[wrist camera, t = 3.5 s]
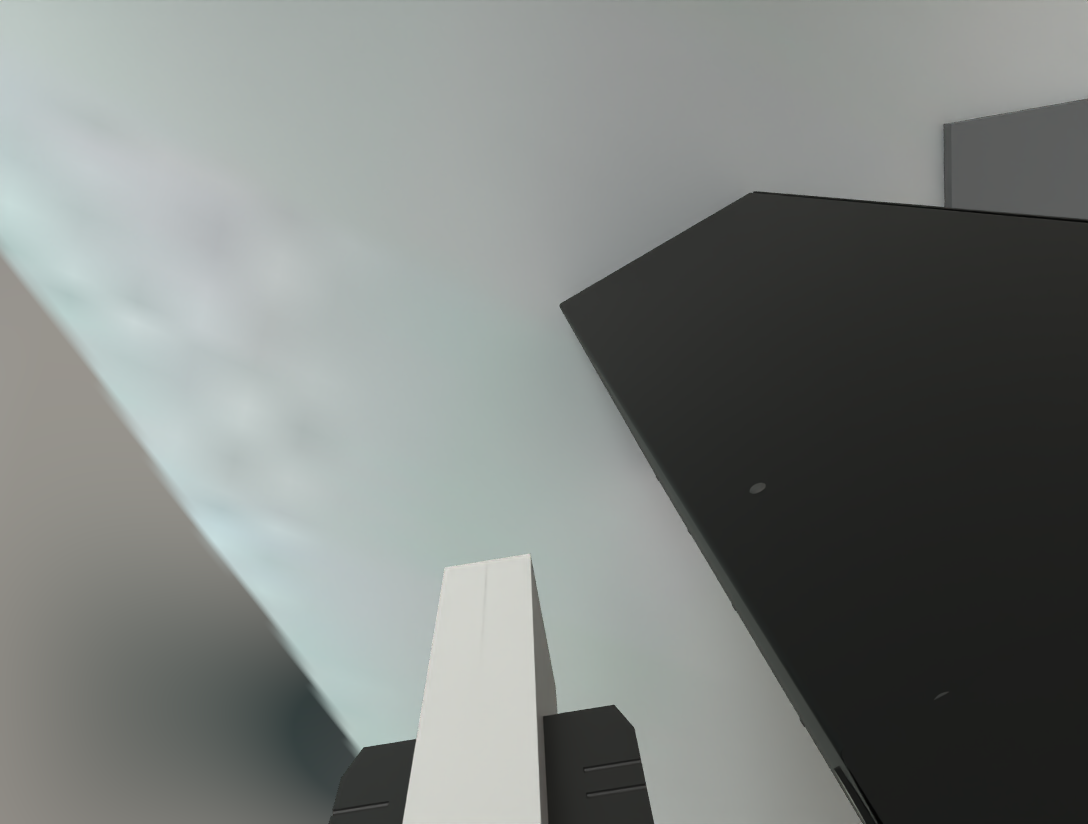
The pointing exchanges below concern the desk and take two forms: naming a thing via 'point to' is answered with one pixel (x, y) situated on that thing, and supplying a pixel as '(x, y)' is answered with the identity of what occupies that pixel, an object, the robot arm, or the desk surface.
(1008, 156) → the mat
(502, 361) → the desk surface
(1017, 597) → the black rectangular box
